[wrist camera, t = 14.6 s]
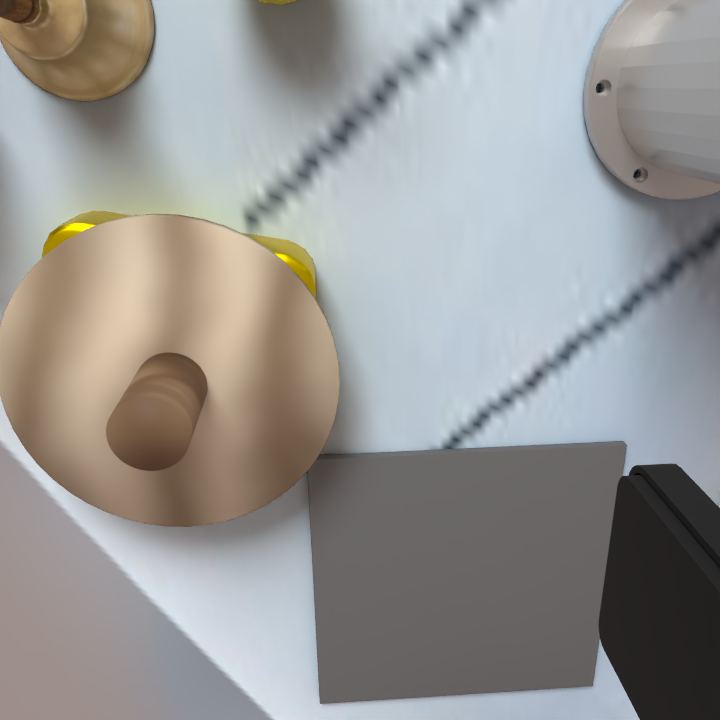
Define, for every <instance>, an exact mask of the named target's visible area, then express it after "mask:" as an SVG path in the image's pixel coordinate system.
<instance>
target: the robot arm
mask: <svg viewBox="0 0 720 720" xmlns="http://www.w3.org/2000/svg"><path fill="white" fill-rule="evenodd" d="M598 83H600V84H601V87H602V88H601V91H600V92H598V93H597V92H596V86H597V84H598ZM583 100H584V118H585V122H586V127H587V131H588V135H589V138H590V140H591V143H592V145H593V147H594V149H595V152H596V154H597V156H598V157H599V158H600V160H601V161H602V162H603V164H604V165H605V167H606V168H607V169H608V171H610V172H611V173H612V174H613V175H614V176H615V177H616V178H617V179H619V180H620V181H621V182H622V183H624V184H625V185H627V186H629V187H631V188H633V189H635V190H636V191H638V192H641V193H645V194H647V195H650V196H653V197H658V198H664V199H669V200H689V199H696V198H700V197H705V196H709V195H713V194H715V193H718V192H720V0H625V1H624V2H623V3H622V4H621V5H620V6H619V7H618V9H617V10H616V11H615V13H614V14H613V15H612V17H611V18H610V20H609V21H608V22H607V24H606V25H605V27H604V29H603V31H602V33H601V34H600V36H599V38H598V40H597V42H596V44H595V46H594V49H593V52H592V55H591V58H590V61H589V64H588V68H587V71H586V78H585V85H584V92H583ZM636 170H638V174H637V176H636V177H633V175H634V172H635V171H636ZM598 626H599V635H600V640H601V643H602V646H603V648H604V651H605V653H606V654H607V656H608V658H609V660H610V662H611V664H612V666H613V668H614V670H615V672H616V674H617V676H618V678H619V680H620V682H621V684H622V686H623V688H624V689H625V691H626V693H627V695H628V697H629V699H630V701H631V703H632V705H633V707H634V709H635V711H636V713H637V715H638V717H639V719H640V720H720V508H719V507H718V506H717V505H716V504H715V503H714V502H713V501H712V500H711V499H710V498H709V497H708V496H707V495H706V493H705V492H704V491H703V490H702V489H701V488H700V487H699V486H698V485H697V484H696V483H695V482H694V481H693V480H692V479H691V478H690V477H689V476H688V475H687V474H686V473H685V472H684V471H683V470H682V468H680V467H679V466H678V465H676V464H656V465H636V466H634V467H633V468H632V469H631V471H630V473H629V476H622V477H621V478H620V480H619V481H618V486H617V492H616V499H615V507H614V514H613V521H612V528H611V535H610V543H609V550H608V557H607V564H606V571H605V578H604V586H603V593H602V600H601V607H600V614H599V624H598Z"/></svg>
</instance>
